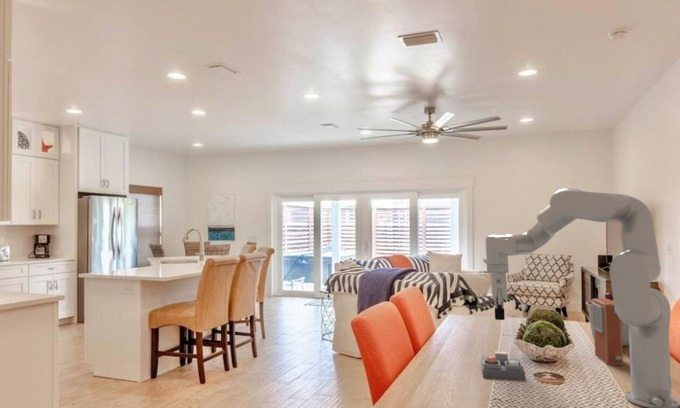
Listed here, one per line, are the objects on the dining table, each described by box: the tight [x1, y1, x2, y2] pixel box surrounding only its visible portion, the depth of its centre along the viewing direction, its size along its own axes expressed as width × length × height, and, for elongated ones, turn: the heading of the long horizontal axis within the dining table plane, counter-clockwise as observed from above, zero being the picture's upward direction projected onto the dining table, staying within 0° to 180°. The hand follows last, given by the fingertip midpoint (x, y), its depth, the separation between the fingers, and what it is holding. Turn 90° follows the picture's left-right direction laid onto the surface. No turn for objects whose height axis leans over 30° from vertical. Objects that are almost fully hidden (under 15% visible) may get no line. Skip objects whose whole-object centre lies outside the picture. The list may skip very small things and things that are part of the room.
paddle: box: [494, 350, 509, 363], centre depth 162 cm, size 2×4×3 cm, turn 75°
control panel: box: [592, 298, 624, 366], centre depth 172 cm, size 21×7×15 cm
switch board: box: [481, 354, 526, 381], centre depth 160 cm, size 15×13×4 cm
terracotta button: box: [486, 355, 497, 363], centre depth 158 cm, size 3×3×2 cm
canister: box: [585, 292, 630, 347], centre depth 195 cm, size 18×18×21 cm
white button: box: [508, 360, 519, 366], centre depth 156 cm, size 3×3×2 cm
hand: (499, 319), depth 170 cm, fingers closed
